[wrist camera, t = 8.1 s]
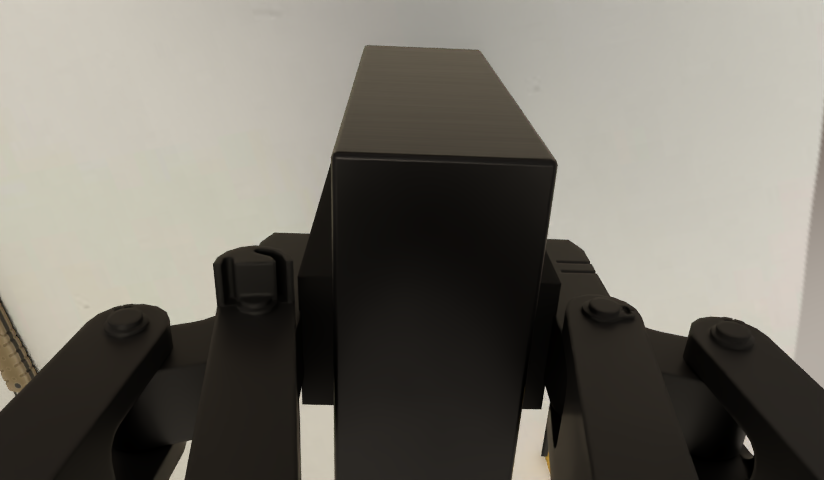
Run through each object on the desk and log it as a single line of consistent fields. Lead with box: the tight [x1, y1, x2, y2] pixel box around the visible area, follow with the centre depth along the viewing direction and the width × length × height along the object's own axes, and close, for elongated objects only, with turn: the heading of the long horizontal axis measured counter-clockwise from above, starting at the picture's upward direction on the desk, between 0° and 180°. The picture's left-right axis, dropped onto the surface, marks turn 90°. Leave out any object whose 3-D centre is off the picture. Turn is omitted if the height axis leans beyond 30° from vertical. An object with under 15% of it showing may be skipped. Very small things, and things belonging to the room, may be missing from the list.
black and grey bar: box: [331, 45, 558, 480], centre depth 16 cm, size 18×3×9 cm, turn 178°
